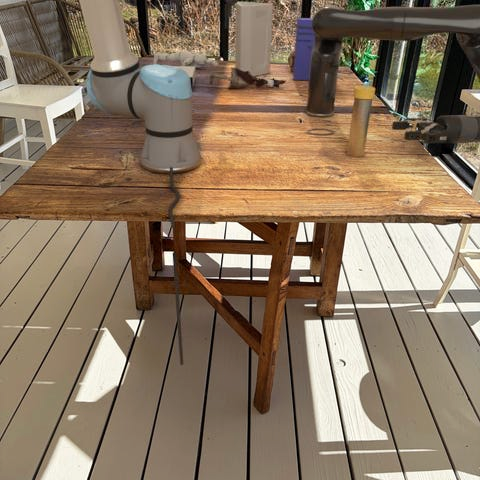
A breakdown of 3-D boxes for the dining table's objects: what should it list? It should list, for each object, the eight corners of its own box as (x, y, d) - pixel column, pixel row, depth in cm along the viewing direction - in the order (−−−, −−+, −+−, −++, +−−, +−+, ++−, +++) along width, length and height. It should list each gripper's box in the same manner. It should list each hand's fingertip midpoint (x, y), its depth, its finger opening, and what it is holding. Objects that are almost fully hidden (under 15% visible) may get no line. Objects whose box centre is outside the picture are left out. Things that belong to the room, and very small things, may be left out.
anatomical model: (297, 75, 231) (295, 75, 217) (284, 62, 230) (281, 61, 216) (315, 54, 226) (315, 52, 212) (302, 41, 225) (301, 38, 211)
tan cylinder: (357, 158, 128) (367, 92, 119) (343, 153, 131) (352, 89, 122) (367, 154, 131) (377, 90, 122) (353, 149, 133) (362, 86, 125)
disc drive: (147, 90, 186) (146, 77, 184) (155, 77, 206) (154, 65, 203) (192, 90, 187) (192, 77, 184) (196, 77, 206) (195, 65, 204)
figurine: (210, 87, 179) (288, 95, 182) (212, 65, 176) (291, 73, 180) (208, 84, 201) (278, 91, 205) (210, 64, 198) (280, 71, 202)
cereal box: (333, 78, 208) (339, 18, 196) (334, 81, 204) (341, 19, 192) (293, 77, 209) (297, 17, 197) (293, 79, 205) (297, 18, 193)
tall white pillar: (273, 76, 210) (276, 6, 196) (239, 77, 209) (240, 6, 194) (266, 67, 226) (268, 2, 212) (235, 67, 225) (235, 1, 210)
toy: (173, 75, 210) (172, 58, 207) (149, 64, 228) (148, 49, 224) (220, 69, 222) (220, 53, 218) (194, 59, 239) (193, 45, 236)
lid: (366, 100, 120) (367, 91, 118) (349, 96, 123) (350, 87, 122) (378, 97, 123) (379, 88, 121) (360, 93, 126) (362, 84, 125)
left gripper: (244, -52, 140) (243, 27, 150) (158, -54, 137) (163, 26, 148) (248, -52, 133) (246, 30, 144) (157, -55, 130) (162, 29, 141)
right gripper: (446, 108, 134) (391, 109, 133) (472, 124, 122) (412, 125, 121) (440, 134, 138) (386, 135, 137) (465, 151, 126) (406, 153, 125)
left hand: (204, 28), depth 146 cm, fingers open, 13 cm apart
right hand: (398, 130), depth 129 cm, fingers open, 8 cm apart
